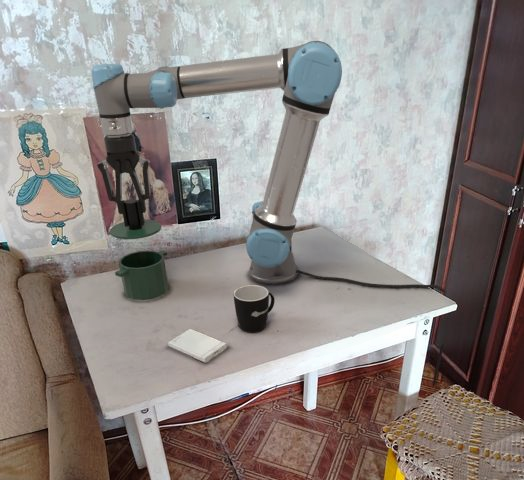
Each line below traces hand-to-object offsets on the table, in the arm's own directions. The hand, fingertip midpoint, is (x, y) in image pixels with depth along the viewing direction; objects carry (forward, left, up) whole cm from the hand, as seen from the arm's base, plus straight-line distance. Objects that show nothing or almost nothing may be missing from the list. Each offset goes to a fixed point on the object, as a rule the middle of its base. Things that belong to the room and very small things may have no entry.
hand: (134, 224), depth 139 cm
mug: (-39, -3, -22) cm, 45 cm away
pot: (+1, -1, -21) cm, 21 cm away
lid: (0, 0, -2) cm, 2 cm away
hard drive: (-33, +14, -22) cm, 42 cm away
